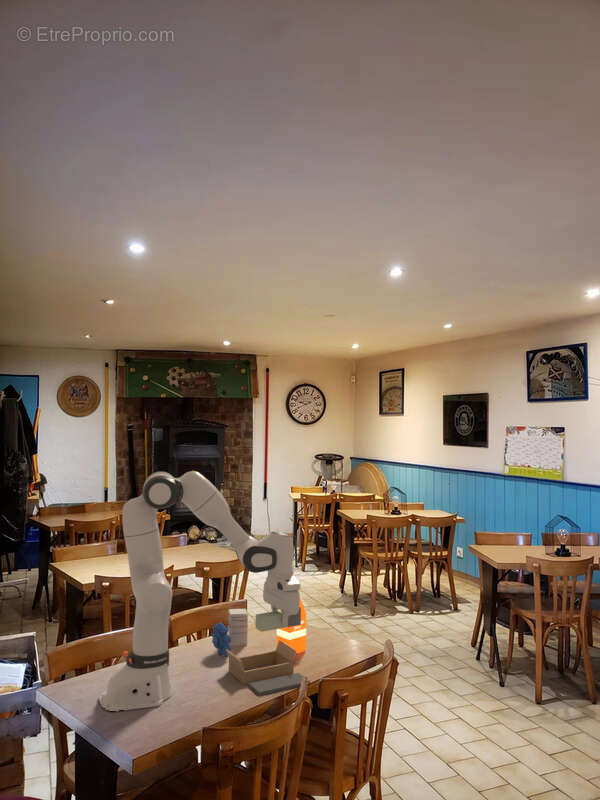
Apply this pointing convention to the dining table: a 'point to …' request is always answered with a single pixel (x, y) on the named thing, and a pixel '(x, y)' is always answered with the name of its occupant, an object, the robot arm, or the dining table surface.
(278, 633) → the orange juice
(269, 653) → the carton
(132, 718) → the dining table surface
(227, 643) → the grapes
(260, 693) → the rubber mat
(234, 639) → the supplement box
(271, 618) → the block
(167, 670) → the robot arm
